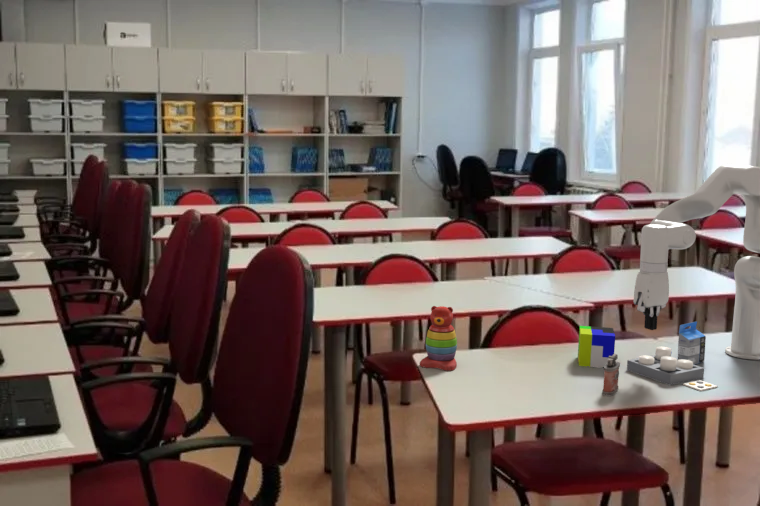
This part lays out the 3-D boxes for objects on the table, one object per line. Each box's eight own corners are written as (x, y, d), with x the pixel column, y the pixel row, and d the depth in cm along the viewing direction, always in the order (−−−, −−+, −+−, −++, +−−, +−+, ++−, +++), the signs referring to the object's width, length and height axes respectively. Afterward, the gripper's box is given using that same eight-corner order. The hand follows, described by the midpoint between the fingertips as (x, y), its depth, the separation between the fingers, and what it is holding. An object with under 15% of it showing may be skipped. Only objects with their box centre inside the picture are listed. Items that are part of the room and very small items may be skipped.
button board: (659, 363, 252) (660, 353, 252) (703, 378, 239) (704, 368, 238) (626, 369, 245) (627, 360, 245) (670, 385, 232) (670, 374, 231)
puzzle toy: (613, 368, 247) (615, 336, 245) (578, 366, 248) (580, 333, 247) (610, 359, 256) (612, 327, 255) (577, 356, 258) (579, 325, 256)
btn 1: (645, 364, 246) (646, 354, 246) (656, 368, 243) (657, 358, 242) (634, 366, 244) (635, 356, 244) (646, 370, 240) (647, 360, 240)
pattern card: (699, 381, 236) (699, 379, 236) (717, 387, 230) (717, 385, 230) (682, 384, 232) (683, 383, 232) (700, 391, 227) (700, 389, 227)
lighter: (612, 396, 221) (614, 360, 220) (599, 394, 223) (601, 358, 221) (620, 388, 228) (623, 353, 226) (608, 386, 230) (610, 351, 228)
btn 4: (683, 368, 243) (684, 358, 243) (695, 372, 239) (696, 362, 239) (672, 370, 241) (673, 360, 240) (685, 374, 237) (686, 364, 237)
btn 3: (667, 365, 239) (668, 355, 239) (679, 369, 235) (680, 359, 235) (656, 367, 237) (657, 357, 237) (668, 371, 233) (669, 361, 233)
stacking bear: (417, 366, 245) (419, 308, 242) (428, 358, 254) (430, 301, 251) (452, 371, 241) (454, 312, 238) (462, 362, 250) (464, 305, 247)
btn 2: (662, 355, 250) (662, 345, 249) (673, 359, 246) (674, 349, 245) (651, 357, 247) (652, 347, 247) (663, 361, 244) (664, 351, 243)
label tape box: (687, 367, 249) (690, 327, 247) (675, 363, 252) (679, 324, 250) (704, 362, 254) (708, 323, 252) (692, 359, 258) (696, 320, 255)
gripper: (661, 262, 245) (658, 322, 249) (625, 268, 238) (622, 329, 241) (681, 266, 239) (678, 328, 242) (645, 272, 232) (642, 335, 235)
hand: (650, 328), depth 242 cm, fingers closed
